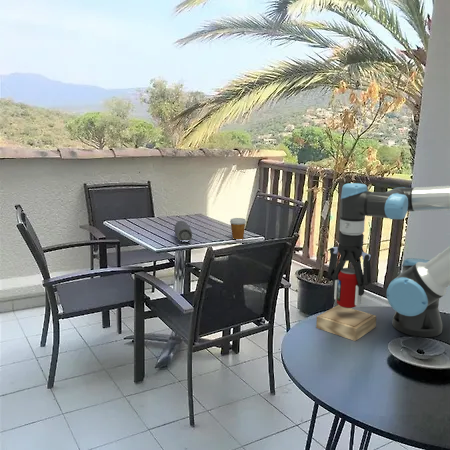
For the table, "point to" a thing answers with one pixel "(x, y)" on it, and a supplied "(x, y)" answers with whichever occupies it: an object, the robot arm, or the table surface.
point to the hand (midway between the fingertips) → (347, 301)
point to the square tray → (346, 322)
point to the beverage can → (346, 288)
